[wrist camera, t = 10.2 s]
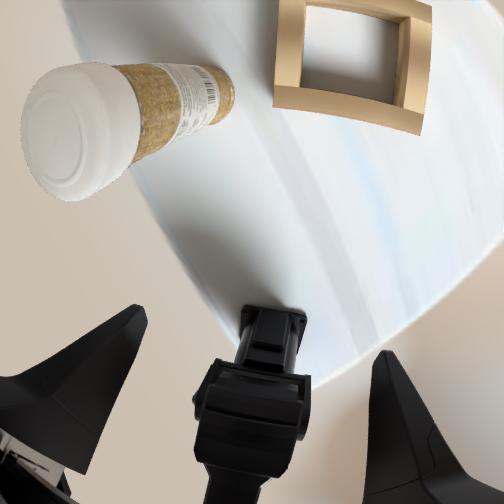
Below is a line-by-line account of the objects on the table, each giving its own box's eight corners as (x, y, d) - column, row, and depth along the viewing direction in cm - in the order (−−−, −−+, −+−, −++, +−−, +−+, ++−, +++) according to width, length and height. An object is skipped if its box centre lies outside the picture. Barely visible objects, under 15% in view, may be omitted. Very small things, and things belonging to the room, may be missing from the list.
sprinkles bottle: (171, 74, 16) (7, 101, 5) (232, 60, 15) (86, 39, 4) (182, 131, 19) (38, 213, 8) (242, 121, 18) (122, 198, 7)
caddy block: (407, 129, 15) (420, 135, 13) (277, 104, 16) (272, 107, 14) (418, 13, 10) (431, 6, 8) (284, -13, 11) (280, -26, 9)
